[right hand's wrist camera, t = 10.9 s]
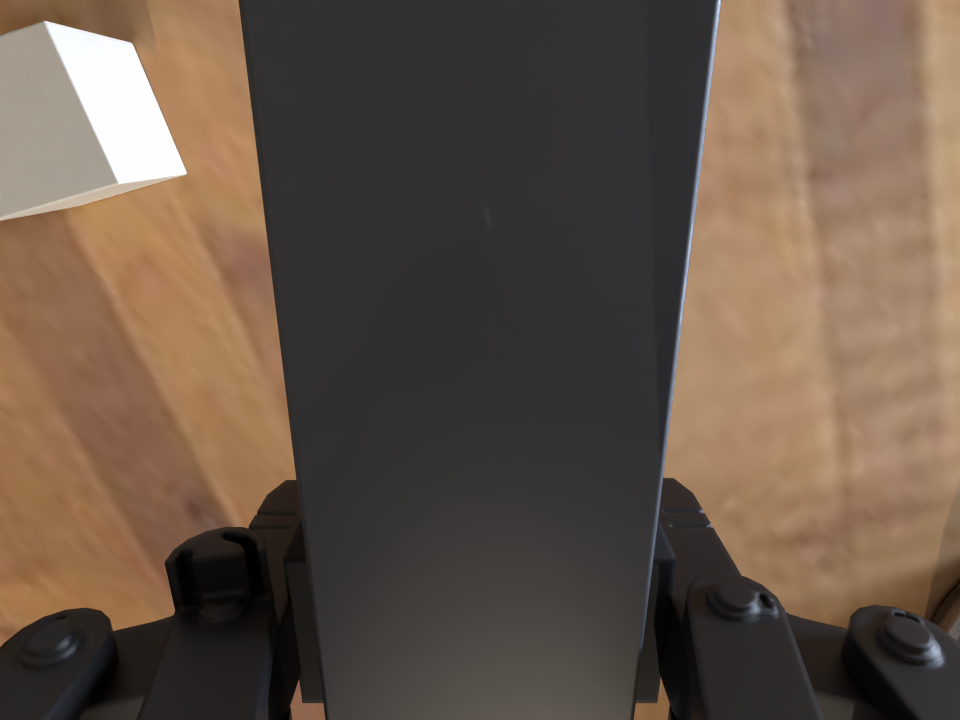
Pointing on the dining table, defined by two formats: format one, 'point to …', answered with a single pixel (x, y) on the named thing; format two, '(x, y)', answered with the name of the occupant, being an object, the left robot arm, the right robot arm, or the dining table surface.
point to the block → (76, 121)
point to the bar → (479, 333)
